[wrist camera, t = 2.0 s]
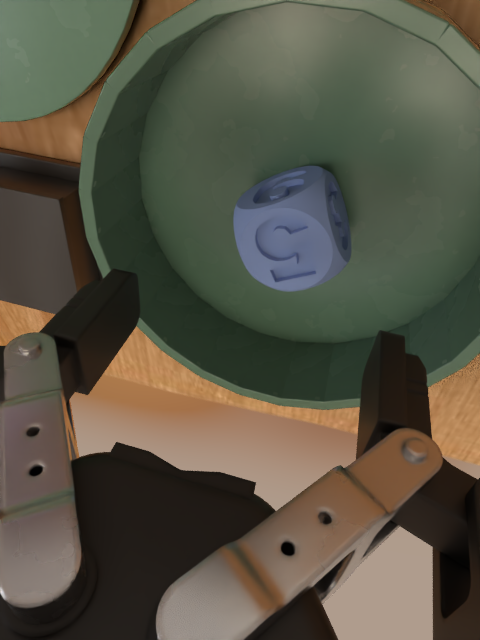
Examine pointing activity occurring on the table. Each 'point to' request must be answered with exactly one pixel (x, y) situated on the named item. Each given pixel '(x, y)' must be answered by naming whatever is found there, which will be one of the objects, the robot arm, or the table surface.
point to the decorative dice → (293, 229)
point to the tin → (285, 154)
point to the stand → (42, 232)
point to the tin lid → (56, 51)
